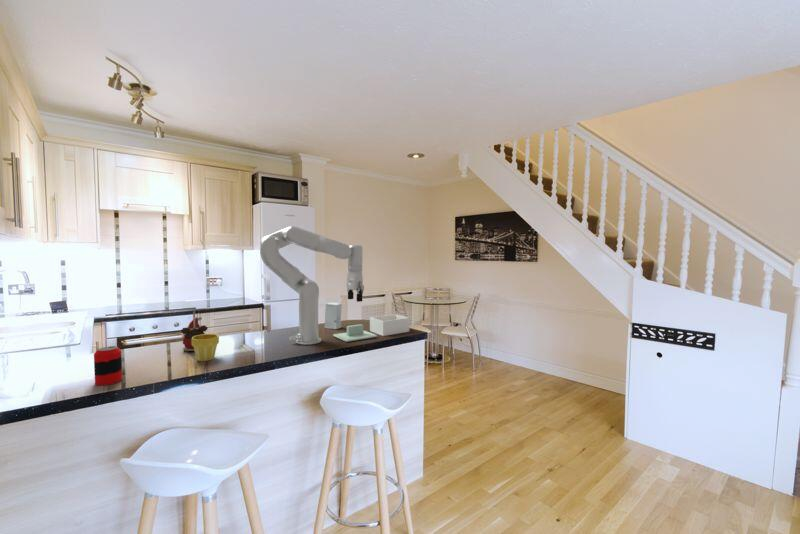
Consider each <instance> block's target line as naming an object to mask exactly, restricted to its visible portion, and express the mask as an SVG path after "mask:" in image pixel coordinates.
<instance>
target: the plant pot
mask: <svg viewBox="0 0 800 534" xmlns="http://www.w3.org/2000/svg"><path fill="white" fill-rule="evenodd" d="M219 343H220V335H219V334H216V333H205V334H202V335H196V336H193V337H192V346H193V347H194V351H193V352H194V354H195V355H194V356H195V357H196V358H195V359H196V360H197V361H198V362H207V361H211V360H214V359H215V355H216V350H217V346H218V344H219Z"/></svg>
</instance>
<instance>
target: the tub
mask: <svg viewBox="0 0 800 534" xmlns="http://www.w3.org/2000/svg"><path fill="white" fill-rule="evenodd" d="M369 332H370V333H373V334H376V335H380V336H382V337H384V336H390V335H397V334H402V333H403V334H404V333H410V317H408V316H405V315H400V314H396V313H395V314H394V313H393V314H386V315H378V316H377V315H376V316H370V317H369Z"/></svg>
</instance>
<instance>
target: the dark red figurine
mask: <svg viewBox="0 0 800 534" xmlns="http://www.w3.org/2000/svg"><path fill="white" fill-rule="evenodd" d="M192 318H193V319H192V320H191V321H190V322H189V323H188V325H187V326H186V327H183V328H181V329H180V333H181V334H183V337H182V344H183V345H184V346H183V347H182V350H183V351H186V352H187V351H189V352H195V351H194V347H193V346H192V337H193V336H196V335H202V334H206V333H205V332H207V331H208V326H207V325H200V324H199V321H202V320H203V316H201V315H199V316H197V317H196V311H195V310H193V311H192Z"/></svg>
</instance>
